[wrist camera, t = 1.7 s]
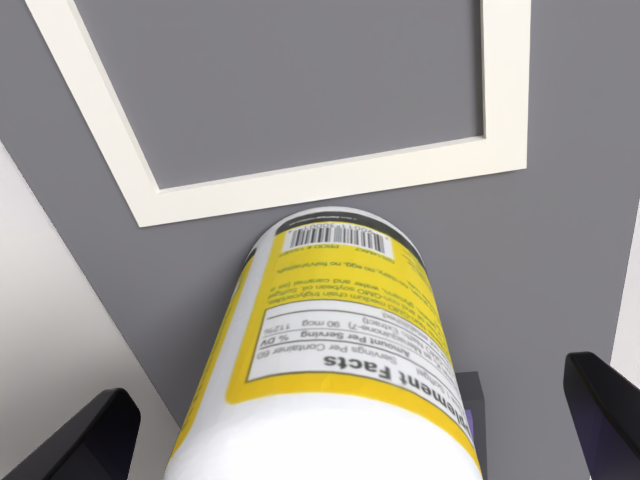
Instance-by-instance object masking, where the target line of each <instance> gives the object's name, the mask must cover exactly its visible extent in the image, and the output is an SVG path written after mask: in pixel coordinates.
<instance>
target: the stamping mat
mask: <svg viewBox="0 0 640 480" xmlns="http://www.w3.org/2000/svg"><path fill="white" fill-rule="evenodd" d="M0 140H1V141H2V143H3V145H4V146H5V148H6V149H7V151H8V153H9V154H10V156H11V157H12V159H13V161H14V162H15V164H16V165H17V167H18V169H19V170H20V172H21V173H22V175H23V177H24V178H25V180H26V182H27V183H28V185H29V186H30V188H31V190H32V191H33V193H34V194H35V196H36V198H37V199H38V201H39V202H40V204H41V206H42V207H43V209H44V210H45V212H46V214H47V215H48V217H49V218H50V220H51V222H52V223H53V225H54V226H55V228H56V230H57V231H58V233H59V234H60V236H61V238H62V239H63V241H64V243H65V244H66V246H67V247H68V249H69V251H70V252H71V254H72V255H73V257H74V259H75V260H76V262H77V263H78V265H79V267H80V268H81V270H82V271H83V273H84V275H85V276H86V278H87V279H88V281H89V283H90V284H91V286H92V287H93V289H94V291H95V292H96V294H97V296H98V297H99V299H100V300H101V302H102V304H103V305H104V307H105V308H106V310H107V312H108V313H109V315H110V316H111V318H112V320H113V321H114V323H115V324H116V326H117V328H118V329H119V331H120V332H121V334H122V336H123V337H124V339H125V340H126V342H127V344H128V345H129V347H130V348H131V350H132V352H133V353H134V355H135V357H136V358H137V360H138V361H139V363H140V365H141V366H142V368H143V369H144V371H145V373H146V374H147V376H148V377H149V379H150V381H151V382H152V384H153V385H154V387H155V389H156V390H157V392H158V393H159V395H160V397H161V398H162V400H163V401H164V403H165V405H166V406H167V408H168V409H169V411H170V413H171V414H172V416H173V418H174V419H175V421H176V422H177V424H178V426H179V427H180V429H181V428H182V425H183V423H184V420H185V418H186V416H187V413H188V411H189V408H190V406H191V403H192V400H193V398H194V395H195V393H196V390H197V388H198V385H199V382H200V380H201V377H202V375H203V372H204V369H205V366H206V364H207V361H208V359H209V356H210V353H211V351H212V348H213V346H214V343H215V340H216V338H217V335H218V332H219V329H220V327H221V324H222V321H223V319H224V316H225V314H226V311H227V309H228V306H229V303H230V300H231V297H232V295H233V292H234V290H235V287H236V284H237V282H238V279H239V276H240V273H241V271H242V268H243V266H244V264H245V261H246V259H247V257H248V255H249V253H250V251H251V250H252V248H253V246H254V245H255V244H256V242H257V241H258V240H259V239H260V237H261V236H262V235H263V234H264V233H265V232H266V231H267V230H268V229H270V228H271V227H272V226H273V225H275V224H276V223H277V222H279V221H281V220H282V219H284V218H286V217H288V216H290V215H292V214H295V213H297V212H300V211H304V210H307V209H311V208H317V207H326V206H340V207H349V208H355V209H359V210H363V211H366V212H369V213H372V214H374V215H376V216H379V217H381V218H382V219H384V220H386V221H388V222H389V223H391V224H392V225H394V226H395V227H396V228H398V229H399V230H400V231H401V232H403V233H404V234H405V235H406V236H407V237H408V238H409V240H410V241H411V242H412V243H413V245H414V246H415V247H416V249H417V250H418V252H419V254H420V256H421V258H422V260H423V262H424V265H425V268H426V271H427V274H428V278H429V282H430V285H431V288H432V292H433V295H434V299H435V302H436V306H437V310H438V314H439V318H440V322H441V325H442V329H443V332H444V336H445V339H446V342H447V346H448V350H449V354H450V358H451V361H452V365H453V369H454V373H455V377H456V381H457V384H458V388H459V392H460V395H461V399H462V403H463V407H464V410H465V414H466V418H467V421H468V425H469V429H470V433H471V436H472V440H473V443H474V446H475V450H476V454H477V458H478V462H479V465H480V468H481V473H482V477H483V480H589V478H590V473H589V470H588V467H587V464H586V461H585V457H584V454H583V451H582V448H581V445H580V442H579V438H578V435H577V432H576V429H575V426H574V423H573V419H572V416H571V413H570V410H569V407H568V403H567V400H566V397H565V394H564V389H563V376H564V367H565V358H566V355H567V354H568V353H571V352H584V351H590V352H593V353H595V354H596V355H597V356H599V357H600V358H601V359H602V360H604V361H605V362H606V363H607V364H608V365H610V361H611V355H612V350H613V344H614V339H615V333H616V327H617V322H618V316H619V311H620V305H621V299H622V294H623V288H624V283H625V277H626V272H627V266H628V260H629V255H630V249H631V244H632V238H633V232H634V227H635V221H636V216H637V210H638V204H639V199H640V0H0Z"/></svg>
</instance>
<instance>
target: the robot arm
mask: <svg viewBox="0 0 640 480" xmlns="http://www.w3.org/2000/svg"><path fill="white" fill-rule="evenodd" d="M563 389H564V394H565V397H566V400H567V403H568V407H569V410H570V413H571V416H572V419H573V423H574V426H575V429H576V432H577V435H578V438H579V442H580V445H581V448H582V451H583V454H584V457H585V461H586V464H587V467H588V470H589V473H590V476H591V479H592V480H640V389H638V388H637V387H636V386H635V385H633V384H632V383H631V382H630V381H628V380H627V379H626V378H625V377H623V376H622V375H621V374H620V373H618V372H617V371H616V370H615V369H613V368H612V367H611V366H610V365H608V364H607V363H606V362H605V361H604V360H602V359H601V358H600V357H599V356H597V355H596V354H595V353H593V352H590V351H584V352H571V353H568V354H567V355H566V358H565V367H564V376H563ZM140 421H141V414H140V411H139V409H138V407H137V406H136V404H135V403H134V401H133V400H132V398H131V397H130V395H129V394H128V392H127V391H126V390H125V389H123V388H114V389H106V390H104V391H102V392H101V393H100V394H99V395H97V396H96V397H95V398H94V399H93V400H92V401H91V402H89V403H88V404H87V405H86V406H85V407H84V408H83V409H81V410H80V411H79V412H78V413H77V414H76V415H75V416H74V417H72V418H71V419H70V420H69V421H68V422H67V423H66V424H64V425H63V426H62V427H61V428H60V429H59V430H58V431H56V432H55V433H54V434H53V435H52V436H51V437H50V438H48V439H47V440H46V441H45V442H44V443H43V444H42V445H40V446H39V447H38V448H37V449H36V450H35V451H34V452H33V453H31V454H30V455H29V456H28V457H27V458H26V459H25V460H23V461H22V462H21V463H20V464H19V465H18V466H17V467H15V468H14V469H13V470H12V471H11V472H10V473H9V474H7V475H6V476H5V477H4V478H3V479H2V480H127V477H128V473H129V469H130V465H131V460H132V456H133V452H134V447H135V443H136V439H137V435H138V430H139V426H140Z"/></svg>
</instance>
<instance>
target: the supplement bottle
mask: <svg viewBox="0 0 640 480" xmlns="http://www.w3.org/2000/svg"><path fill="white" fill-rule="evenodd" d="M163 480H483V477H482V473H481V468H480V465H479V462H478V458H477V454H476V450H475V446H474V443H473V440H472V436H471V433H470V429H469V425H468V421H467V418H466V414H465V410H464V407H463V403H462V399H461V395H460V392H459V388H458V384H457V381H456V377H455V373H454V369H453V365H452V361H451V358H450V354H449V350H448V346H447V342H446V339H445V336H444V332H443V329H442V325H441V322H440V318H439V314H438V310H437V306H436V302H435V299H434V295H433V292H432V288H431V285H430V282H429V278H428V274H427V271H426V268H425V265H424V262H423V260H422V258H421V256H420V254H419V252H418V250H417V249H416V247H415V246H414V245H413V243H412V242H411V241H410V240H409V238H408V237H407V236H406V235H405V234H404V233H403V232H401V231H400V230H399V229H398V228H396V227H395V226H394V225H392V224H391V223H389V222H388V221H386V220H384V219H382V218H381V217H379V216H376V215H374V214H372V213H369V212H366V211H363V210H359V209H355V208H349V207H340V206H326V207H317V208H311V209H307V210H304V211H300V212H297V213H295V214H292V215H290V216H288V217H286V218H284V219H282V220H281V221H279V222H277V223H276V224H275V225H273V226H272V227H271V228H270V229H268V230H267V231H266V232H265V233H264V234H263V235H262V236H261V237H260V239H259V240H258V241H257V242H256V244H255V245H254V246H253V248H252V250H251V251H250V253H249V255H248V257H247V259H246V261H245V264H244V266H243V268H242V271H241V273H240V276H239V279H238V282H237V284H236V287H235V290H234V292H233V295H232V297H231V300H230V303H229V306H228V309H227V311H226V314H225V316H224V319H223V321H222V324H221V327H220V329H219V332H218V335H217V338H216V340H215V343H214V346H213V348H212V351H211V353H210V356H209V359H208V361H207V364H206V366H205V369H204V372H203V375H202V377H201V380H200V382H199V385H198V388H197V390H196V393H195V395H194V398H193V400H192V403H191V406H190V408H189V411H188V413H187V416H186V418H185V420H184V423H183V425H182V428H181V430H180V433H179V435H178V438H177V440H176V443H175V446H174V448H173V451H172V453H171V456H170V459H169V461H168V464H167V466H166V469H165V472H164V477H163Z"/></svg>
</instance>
